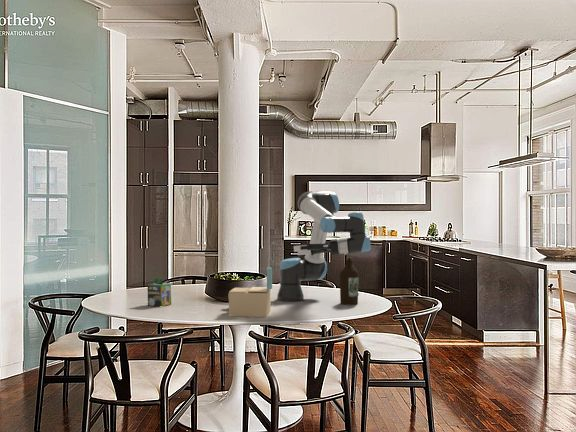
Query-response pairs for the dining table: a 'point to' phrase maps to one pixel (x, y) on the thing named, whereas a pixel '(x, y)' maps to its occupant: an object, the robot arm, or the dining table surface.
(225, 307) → the dining table surface
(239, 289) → the carton
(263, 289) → the flap
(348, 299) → the olive oil
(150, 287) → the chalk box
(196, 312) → the dining table surface
